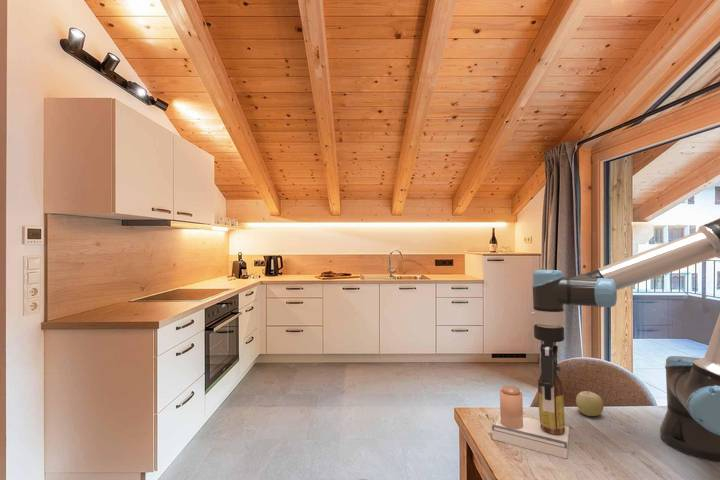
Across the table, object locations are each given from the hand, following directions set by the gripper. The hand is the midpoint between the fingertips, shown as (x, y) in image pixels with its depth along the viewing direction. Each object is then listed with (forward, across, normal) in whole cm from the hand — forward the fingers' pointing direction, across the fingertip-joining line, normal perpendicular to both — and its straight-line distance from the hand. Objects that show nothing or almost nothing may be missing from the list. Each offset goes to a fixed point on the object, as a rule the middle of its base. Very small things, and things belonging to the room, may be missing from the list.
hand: (550, 401), depth 99 cm
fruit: (+10, -23, +9) cm, 27 cm away
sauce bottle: (+8, 0, 0) cm, 8 cm away
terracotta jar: (+8, +2, -10) cm, 13 cm away
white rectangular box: (+10, +2, -5) cm, 12 cm away
